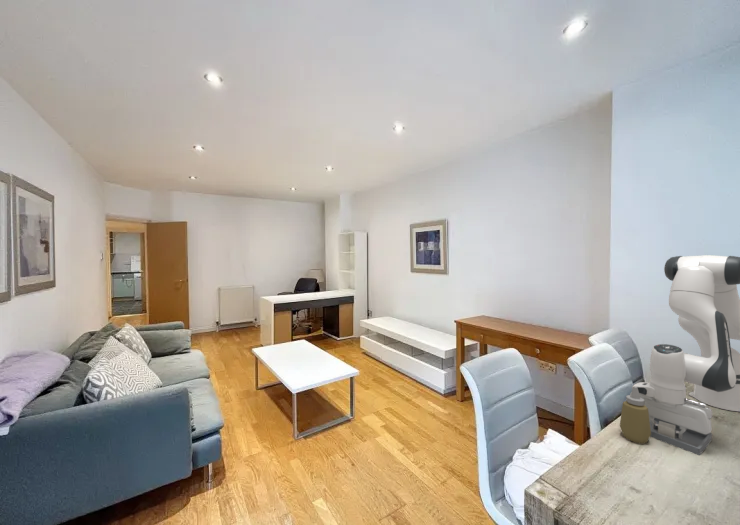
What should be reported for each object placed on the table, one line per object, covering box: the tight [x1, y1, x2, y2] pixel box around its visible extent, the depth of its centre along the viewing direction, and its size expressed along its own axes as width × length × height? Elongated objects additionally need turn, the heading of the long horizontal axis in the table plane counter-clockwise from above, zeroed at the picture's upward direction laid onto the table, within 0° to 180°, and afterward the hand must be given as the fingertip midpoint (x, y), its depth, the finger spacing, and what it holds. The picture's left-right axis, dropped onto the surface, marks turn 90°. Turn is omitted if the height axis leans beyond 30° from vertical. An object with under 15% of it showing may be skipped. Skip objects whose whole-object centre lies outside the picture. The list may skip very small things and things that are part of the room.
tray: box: [650, 418, 713, 456], centre depth 105 cm, size 15×17×3 cm
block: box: [658, 421, 676, 439], centre depth 103 cm, size 4×4×4 cm
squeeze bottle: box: [619, 386, 651, 445], centre depth 103 cm, size 8×8×18 cm
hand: (666, 433), depth 103 cm, fingers closed on block, 4 cm apart
